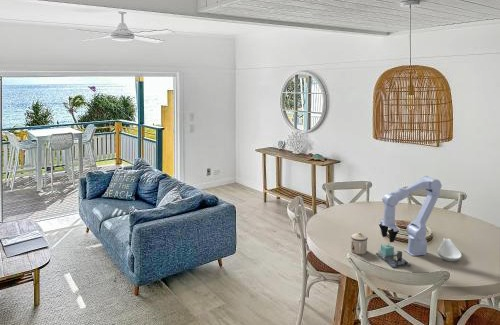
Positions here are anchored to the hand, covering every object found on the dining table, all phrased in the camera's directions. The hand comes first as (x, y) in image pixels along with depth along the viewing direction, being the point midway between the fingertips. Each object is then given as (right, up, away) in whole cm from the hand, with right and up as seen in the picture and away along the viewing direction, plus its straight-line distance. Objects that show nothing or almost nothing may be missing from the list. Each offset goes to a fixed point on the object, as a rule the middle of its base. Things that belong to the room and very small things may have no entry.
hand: (388, 239), depth 218 cm
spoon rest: (+34, -9, +2) cm, 35 cm away
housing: (0, -8, +2) cm, 8 cm away
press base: (+1, -11, -3) cm, 11 cm away
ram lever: (+2, -11, -8) cm, 14 cm away
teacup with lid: (-14, -9, +7) cm, 18 cm away
